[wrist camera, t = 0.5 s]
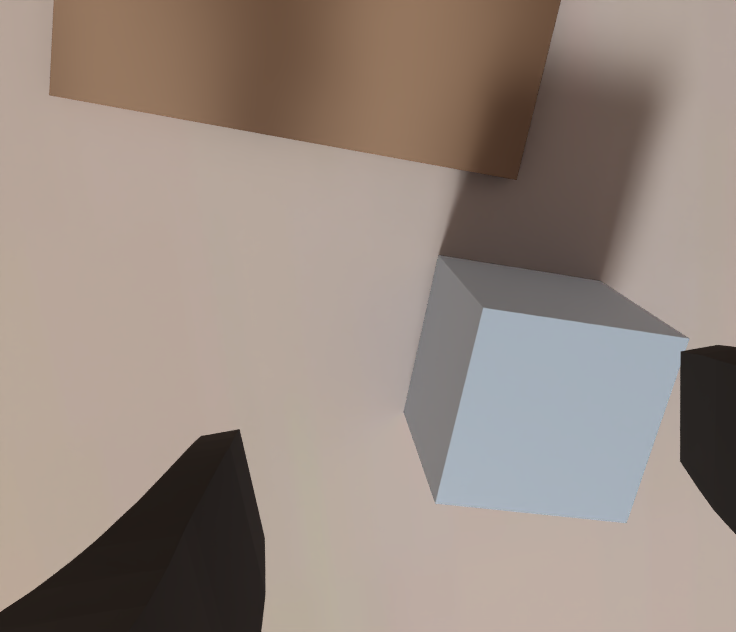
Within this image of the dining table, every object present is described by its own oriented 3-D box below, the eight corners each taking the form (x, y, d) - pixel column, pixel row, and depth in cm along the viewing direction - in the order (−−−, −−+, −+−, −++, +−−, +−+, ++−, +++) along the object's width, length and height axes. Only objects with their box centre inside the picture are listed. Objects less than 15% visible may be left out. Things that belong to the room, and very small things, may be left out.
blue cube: (599, 280, 21) (689, 338, 16) (555, 429, 22) (626, 523, 18) (437, 254, 20) (483, 307, 16) (403, 411, 22) (435, 503, 17)
